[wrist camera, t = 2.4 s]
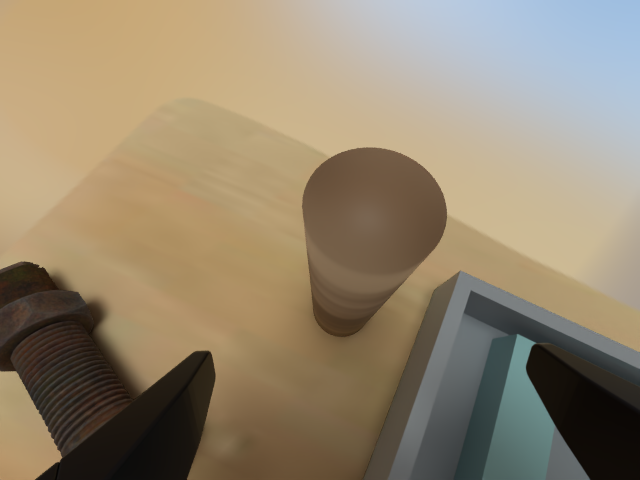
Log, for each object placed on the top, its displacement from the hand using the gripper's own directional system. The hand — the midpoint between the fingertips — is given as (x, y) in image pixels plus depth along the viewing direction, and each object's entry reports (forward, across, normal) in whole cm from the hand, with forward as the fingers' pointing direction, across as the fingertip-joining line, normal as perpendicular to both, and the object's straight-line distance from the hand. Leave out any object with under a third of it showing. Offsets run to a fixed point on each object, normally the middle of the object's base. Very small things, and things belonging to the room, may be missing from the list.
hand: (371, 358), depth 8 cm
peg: (+10, 0, +5) cm, 11 cm away
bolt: (+8, +15, +8) cm, 19 cm away
